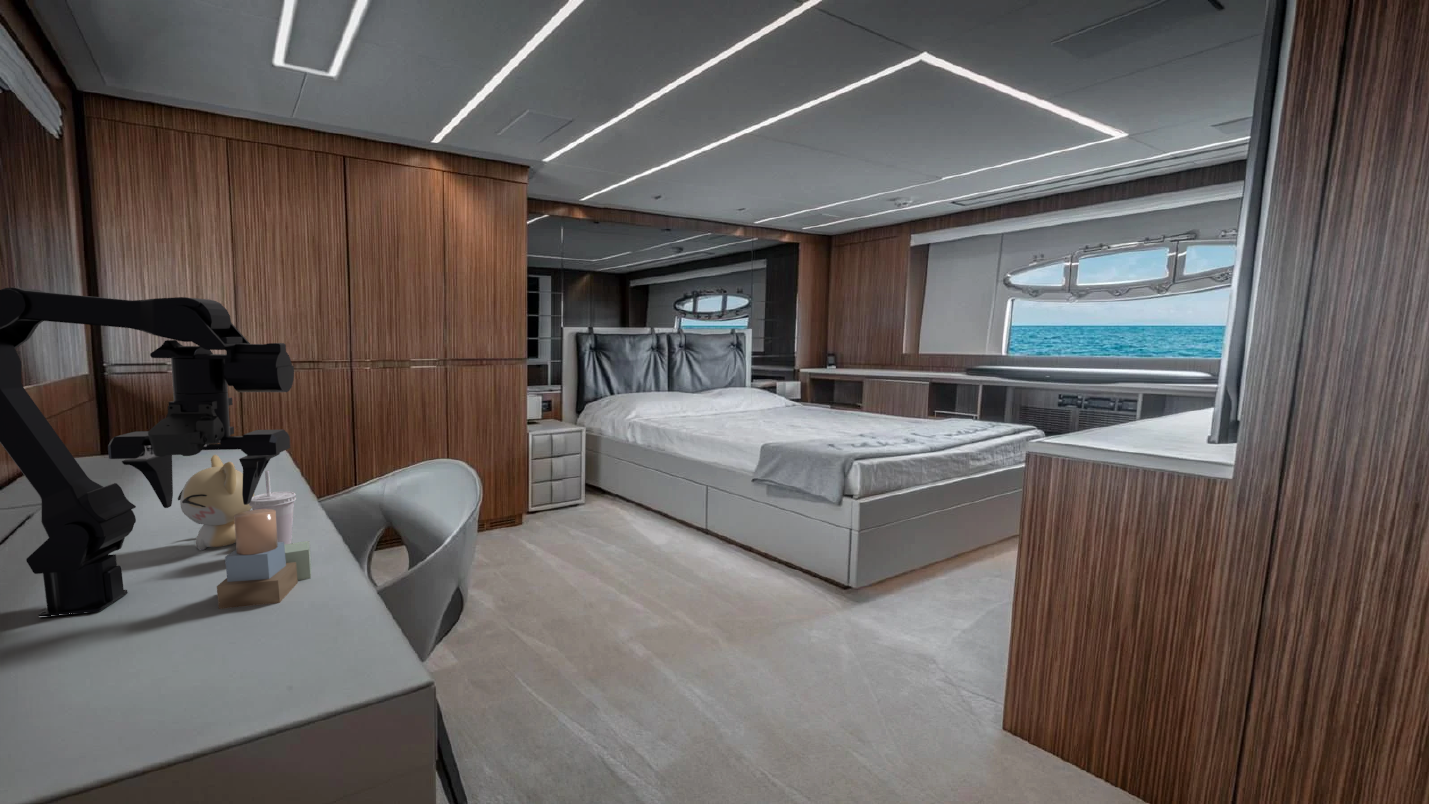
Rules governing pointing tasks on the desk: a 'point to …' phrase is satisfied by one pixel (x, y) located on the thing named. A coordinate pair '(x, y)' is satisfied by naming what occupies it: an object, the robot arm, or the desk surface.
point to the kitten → (214, 503)
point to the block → (299, 558)
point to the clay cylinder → (255, 531)
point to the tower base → (258, 589)
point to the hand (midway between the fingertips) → (207, 505)
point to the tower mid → (255, 564)
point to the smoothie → (277, 509)
